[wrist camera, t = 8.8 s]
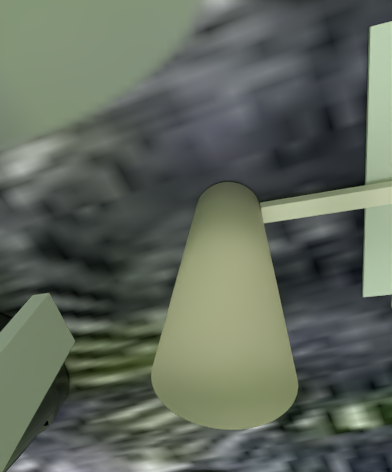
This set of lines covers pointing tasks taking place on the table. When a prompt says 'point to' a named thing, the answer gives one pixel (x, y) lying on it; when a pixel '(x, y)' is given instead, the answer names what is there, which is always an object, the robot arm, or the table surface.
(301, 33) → the table surface
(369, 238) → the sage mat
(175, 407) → the tan block and peg
